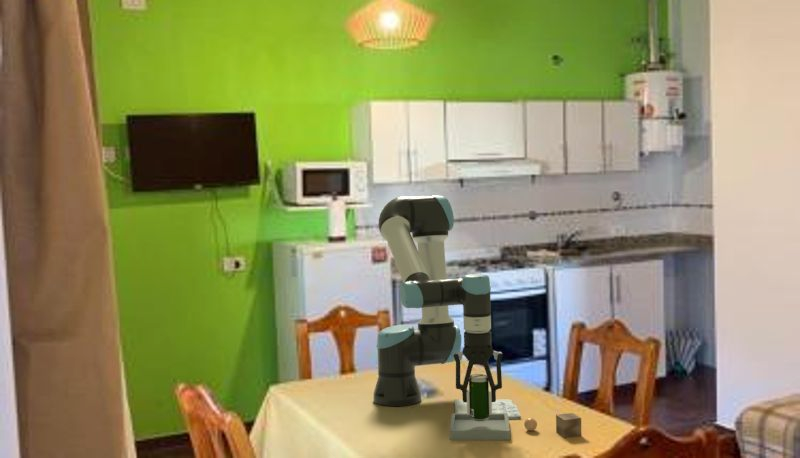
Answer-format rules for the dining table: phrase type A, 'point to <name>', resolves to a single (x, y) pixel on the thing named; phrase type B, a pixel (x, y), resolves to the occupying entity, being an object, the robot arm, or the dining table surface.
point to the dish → (479, 427)
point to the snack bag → (493, 407)
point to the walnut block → (568, 425)
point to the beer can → (479, 397)
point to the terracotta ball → (530, 424)
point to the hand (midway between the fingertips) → (479, 413)
